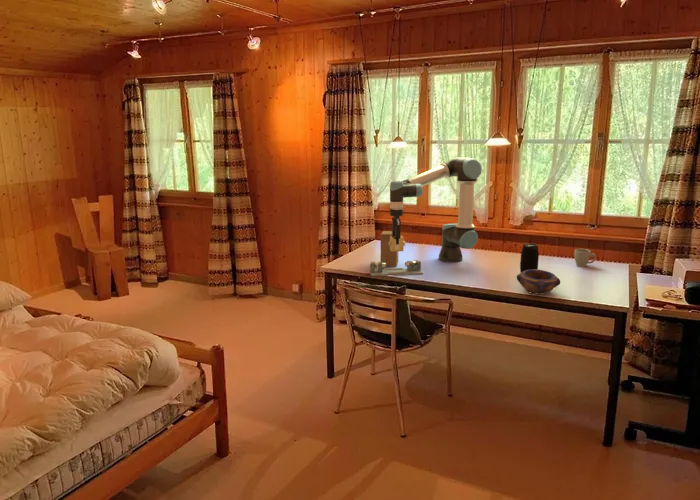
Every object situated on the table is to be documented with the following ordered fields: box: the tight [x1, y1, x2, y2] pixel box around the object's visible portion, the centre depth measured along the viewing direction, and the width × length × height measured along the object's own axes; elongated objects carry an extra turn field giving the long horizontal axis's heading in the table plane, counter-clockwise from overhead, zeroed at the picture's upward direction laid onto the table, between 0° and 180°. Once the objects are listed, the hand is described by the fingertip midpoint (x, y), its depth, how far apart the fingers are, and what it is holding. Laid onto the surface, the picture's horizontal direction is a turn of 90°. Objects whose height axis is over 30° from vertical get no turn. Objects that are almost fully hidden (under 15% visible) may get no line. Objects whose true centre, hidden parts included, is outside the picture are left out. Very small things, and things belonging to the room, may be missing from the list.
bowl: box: [516, 269, 561, 295], centre depth 266 cm, size 18×18×10 cm
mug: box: [574, 248, 597, 268], centre depth 315 cm, size 12×9×10 cm
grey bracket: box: [369, 261, 387, 273], centre depth 303 cm, size 9×4×6 cm, turn 81°
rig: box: [368, 267, 424, 277], centre depth 304 cm, size 30×10×2 cm, turn 96°
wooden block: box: [379, 230, 399, 267], centre depth 321 cm, size 10×10×20 cm
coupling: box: [389, 235, 406, 252], centre depth 300 cm, size 9×5×8 cm, turn 96°
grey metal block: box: [404, 259, 422, 272], centre depth 305 cm, size 9×4×6 cm, turn 111°
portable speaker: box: [519, 242, 540, 273], centre depth 288 cm, size 9×9×20 cm
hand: (396, 248), depth 300 cm, fingers closed on coupling, 5 cm apart
